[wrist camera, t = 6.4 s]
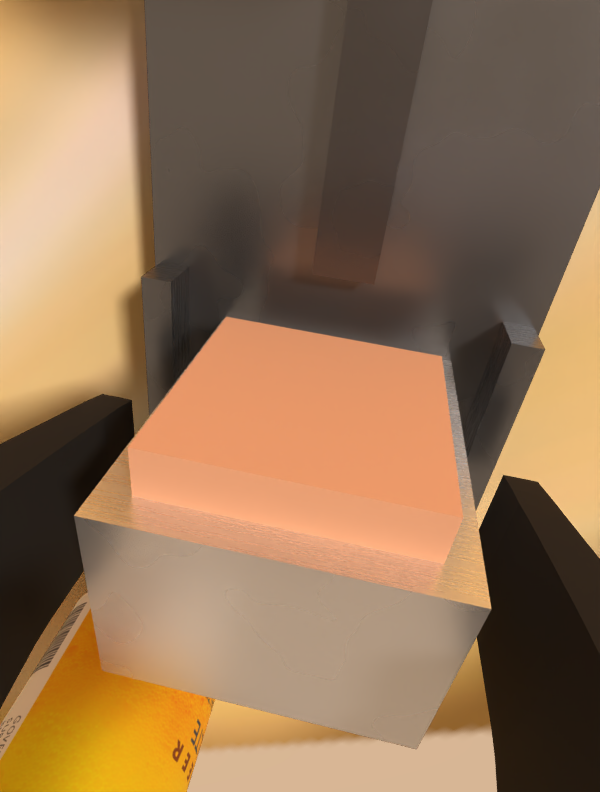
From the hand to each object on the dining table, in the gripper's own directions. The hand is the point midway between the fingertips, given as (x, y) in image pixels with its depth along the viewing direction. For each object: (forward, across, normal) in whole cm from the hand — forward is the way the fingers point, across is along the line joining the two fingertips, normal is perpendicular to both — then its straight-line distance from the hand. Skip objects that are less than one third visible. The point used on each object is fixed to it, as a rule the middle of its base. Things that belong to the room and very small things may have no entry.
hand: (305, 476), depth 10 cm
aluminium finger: (+2, 0, 0) cm, 2 cm away
